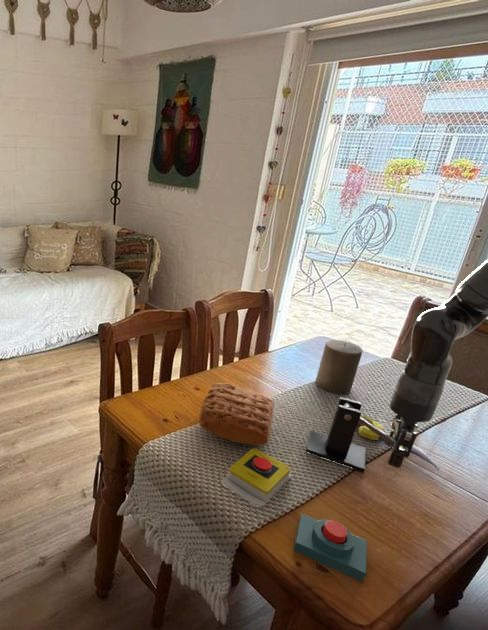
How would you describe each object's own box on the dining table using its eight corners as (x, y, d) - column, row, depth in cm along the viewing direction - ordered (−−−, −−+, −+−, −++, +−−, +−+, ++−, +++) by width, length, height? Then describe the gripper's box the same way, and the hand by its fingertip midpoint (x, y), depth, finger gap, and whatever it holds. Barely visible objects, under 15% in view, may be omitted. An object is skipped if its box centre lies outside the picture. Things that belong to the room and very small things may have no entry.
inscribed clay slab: (263, 463, 102) (270, 435, 99) (190, 439, 110) (194, 412, 107) (274, 415, 120) (280, 390, 117) (211, 397, 128) (215, 373, 125)
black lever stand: (364, 451, 107) (381, 404, 102) (363, 473, 100) (381, 423, 95) (309, 433, 113) (323, 388, 108) (305, 453, 106) (319, 405, 101)
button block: (363, 548, 82) (369, 533, 80) (362, 582, 76) (369, 566, 74) (299, 521, 87) (303, 506, 86) (293, 550, 81) (298, 535, 80)
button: (345, 533, 81) (347, 526, 80) (344, 547, 78) (346, 540, 77) (323, 524, 82) (325, 517, 82) (321, 537, 80) (323, 530, 79)
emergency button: (296, 461, 97) (264, 493, 88) (292, 476, 99) (260, 510, 90) (257, 439, 104) (222, 468, 94) (253, 454, 105) (219, 484, 96)
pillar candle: (350, 398, 129) (364, 352, 124) (313, 388, 134) (325, 344, 128) (350, 383, 137) (364, 340, 131) (315, 374, 142) (327, 332, 136)
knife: (449, 466, 103) (343, 411, 123) (453, 457, 102) (345, 403, 122) (433, 478, 99) (326, 419, 119) (437, 469, 98) (329, 411, 118)
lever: (397, 445, 101) (405, 439, 100) (397, 457, 97) (406, 451, 96) (339, 405, 105) (347, 399, 104) (338, 415, 101) (345, 409, 100)
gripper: (442, 416, 86) (415, 480, 92) (435, 385, 97) (411, 444, 104) (396, 404, 90) (373, 466, 96) (394, 375, 101) (373, 432, 107)
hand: (393, 454), depth 100 cm, fingers open, 8 cm apart
